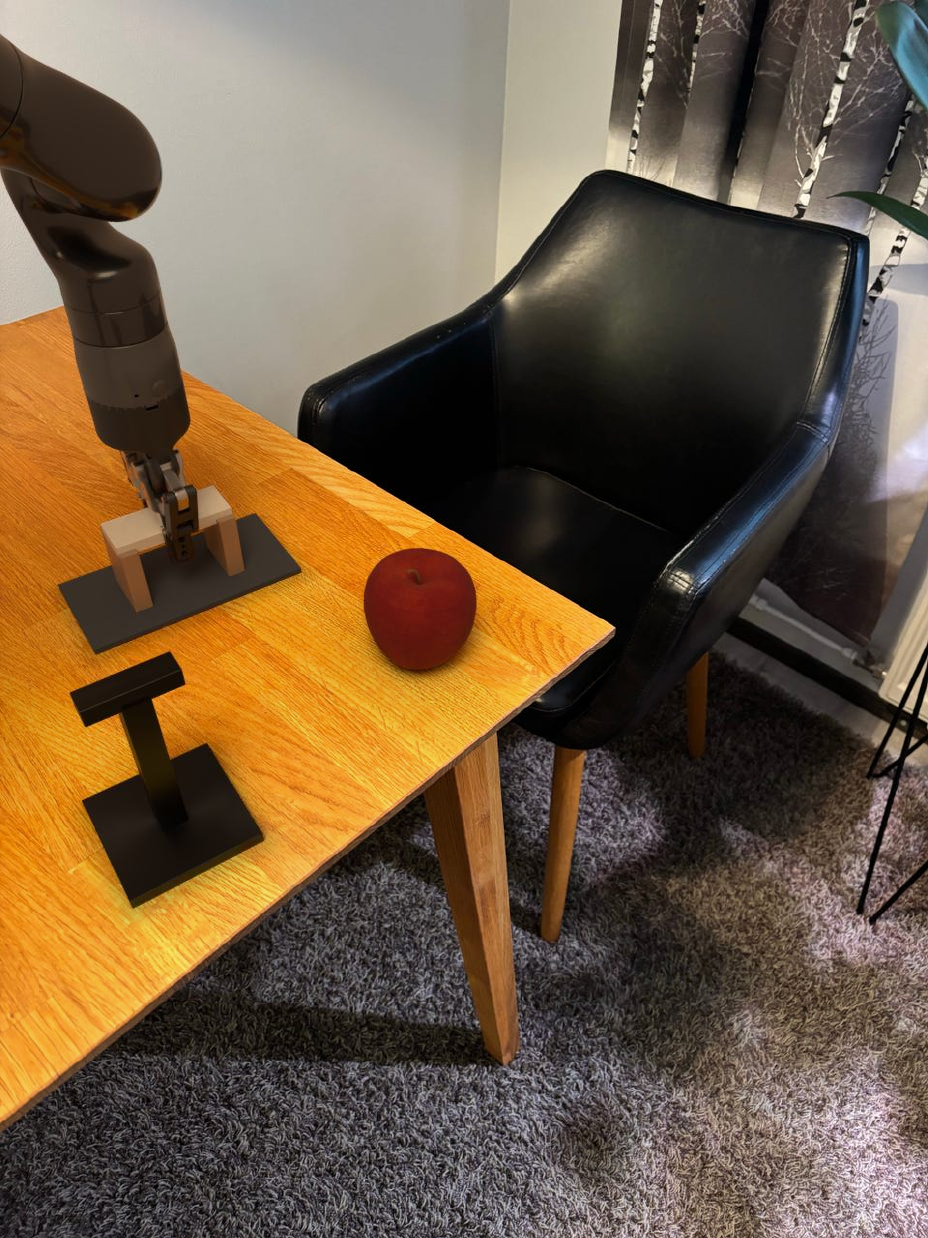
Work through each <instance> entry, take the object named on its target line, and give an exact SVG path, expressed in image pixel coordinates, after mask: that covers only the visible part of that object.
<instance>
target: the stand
mask: <svg viewBox="0 0 928 1238" xmlns="http://www.w3.org/2000/svg"><path fill="white" fill-rule="evenodd" d="M186 685H187V684H186V679H185V676H184V671H183V669H182V667H181V666H180V664H179V663H178V661H177V659H176V658H175V656H174V654H173V653H172V652H171V650H169V651H166V652H164V653H161V654H159V655H156V656H154V657H152V658H149V659H147V660H144V661H141V662H139V663H136V664H135V665H132V666H130V667H127V668H125V669H122V670H119V671H117V672H115V673H113V674H111V675H108V676H105V677H103V678H101V679H98V680H96V681H93V682H90V683H88V684H85V685H83V686H81V687H79V688H75V689H73V690H71V691H69V696H70V699H71V701H72V704H73V706H74V708H75V711H76V712H77V714H78V716H79V718H80V720H81V723H82V724H83V726H84V727H85V728H88V727H90V726H93V725H95V724H98V723H100V722H103V721H105V720H107V719H109V718H112V717H114V716H117V715H118V717H119V720H120V724H121V726H122V729H123V731H124V735H125V737H126V741H127V744H128V747H129V749H130V751H131V755H132V757H133V760H134V764H135V767H136V769H137V773H138V774H136V775H133V776H131V777H129V778H127V779H124V780H122V781H120V782H118V783H116V784H114V785H112V786H109V787H107V788H105V789H102V790H100V791H99V792H97V793H94V794H92V795H89V796H88V797H85V798H84V799H82V800H81V804H82V805H83V807H84V810H85V812H86V814H87V816H88V818H89V820H90V822H91V825H92V827H93V828H94V829H93V830H95V831H94V832H95V833H96V835H97V837H98V839H99V841H100V843H101V845H102V847H103V849H104V852H105V854H106V856H107V858H108V860H109V863H110V864H111V866H112V869H113V871H114V874H115V875H116V877H117V880H118V881H119V884H120V885H121V887H122V890H123V892H124V894H125V896H126V898H127V900H128V903H129V905H130V907H131V909H135V908H137V907H140V906H141V905H143V904H145V903H147V902H149V901H150V900H152V899H155V898H156V897H158V896H160V895H162V894H164V893H166V892H168V891H170V890H172V889H174V888H175V887H178V886H179V885H182V884H183V883H185V882H188V881H189V880H191V879H193V878H195V877H197V876H198V875H201V874H203V873H205V872H206V871H208V870H210V869H212V868H214V867H216V866H219V865H220V864H222V863H224V862H225V861H228V860H229V859H232V858H233V857H236V856H237V855H240V854H241V853H243V852H245V851H247V850H249V849H251V848H252V847H255V846H257V845H259V844H260V843H262V842H264V841H265V839H264V835H263V832H262V830H261V829H260V827H259V826H258V824H257V821H256V820H255V819H254V817H253V816H252V814H251V812H250V810H249V809H248V807H247V806H246V803H245V802H244V801H243V799H242V797H241V796H240V794H239V792H238V791H237V789H236V787H235V785H234V784H233V783H232V781H231V779H230V778H229V776H228V774H227V773H226V771H225V770H224V768H223V766H222V765H221V763H220V762H219V760H218V758H217V757H216V755H215V753H214V752H213V750H212V748H211V747H210V745H209V743H208V742H205V743H203V744H201V745H199V746H196V747H195V748H192V749H189V750H188V751H185V752H183V753H181V754H179V755H177V756H175V757H172V758H171V757H170V753H169V750H168V747H167V744H166V739H165V737H164V735H163V731H162V728H161V724H160V721H159V718H158V714H157V711H156V709H155V705H154V701H153V700H154V699H156V698H158V697H161V696H163V695H165V694H168V693H170V692H173V691H175V690H177V689H179V688H182V687H185V686H186Z"/></svg>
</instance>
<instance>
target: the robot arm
mask: <svg viewBox="0 0 928 1238" xmlns="http://www.w3.org/2000/svg"><path fill="white" fill-rule="evenodd" d="M163 175H164V173H163V162H162V158H161V154H160V151H159V148H158V146H157V143H156V142H155V139H154V137H153V136H152V134H151V133H150V131H149V129H148V127H146V125H145V124H144V123H143V122H142V121H141V119H140V118H139V117H137V116H136V114H135V113H133V111H131V110H130V109H128V108H127V106H124V105H123V104H121V103H120V102H119V101H117V100H116V99H113V98H112V97H110V96H108V95H107V94H105V93H103V92H101V91H99V90H98V89H96V88H94V87H92V86H90V85H88V84H86V83H85V82H82V81H80V80H79V79H76V78H75V77H72V76H71V75H68V74H67V73H65V72H62V71H60V70H58V69H56V68H53V67H51V66H50V65H48V64H45V63H43V62H41V61H39V60H37V59H35V58H34V57H32V56H30V55H29V54H27V53H25V52H24V51H22V50H21V49H20V48H19V47H18V46H16V45H15V44H14V43H13V42H12V41H10V40H9V39H8V38H6V37H5V36H4V35H3V34H2V33H0V177H1V180H2V183H3V186H4V187H5V190H6V193H7V195H8V196H9V198H10V200H11V202H12V205H13V207H14V208H15V211H16V212H17V214H18V216H19V217H20V219H21V221H22V223H23V225H24V226H25V229H26V230H27V232H28V234H29V235H30V237H31V239H32V241H33V243H34V244H35V246H36V248H37V250H38V251H39V254H40V256H41V257H42V258H43V260H44V261H45V263H46V265H47V267H48V268H49V269H50V271H51V273H52V274H53V276H54V277H55V279H56V283H57V284H58V289H59V293H60V296H61V299H62V303H63V307H64V310H65V314H66V318H67V322H68V324H69V328H70V332H71V336H72V342H73V351H74V358H75V362H76V367H77V369H78V374H79V377H80V380H81V384H82V387H83V392H84V394H85V399H86V402H87V405H88V408H89V409H88V410H89V412H90V415H91V419H92V423H93V427H94V430H95V433H96V436H97V438H98V439H99V441H100V442H102V443H103V444H104V445H105V446H107V447H109V448H111V449H112V450H116V451H119V455H120V457H121V461H122V464H123V466H124V469H125V471H126V474H127V481H128V482H129V483H130V485H131V486H132V487H134V488H135V491H136V493H135V495H136V498H137V499H139V501H140V502H141V503H142V507H143V509H145V508H148V507H149V508H150V509H151V510H152V511H153V512H155V513H156V514H157V517H158V520H159V523H160V529H161V531H162V532H163V536H164V540H165V543H164V544H165V545H166V549H167V553H168V557H169V559H170V560H171V562H172V563H173V564H179V563H182V562H185V561H187V560H190V559H192V558H193V557H194V556H195V551H194V546H193V542H192V537H191V536H192V534H195V533H199V532H200V530H199V516H198V497H197V488H196V487H195V486H194V484H192V483H190V484H187V481H186V478H185V474H184V469H185V464H184V461H183V458H182V455H181V452H180V450H179V449H178V448H174V447H175V446H176V444H177V443H178V442H179V441H180V440H181V439H182V438H183V437H184V436H185V435H186V433H187V432H188V430H189V429H190V426H191V421H192V420H191V414H190V407H189V403H188V398H187V393H186V388H185V383H184V378H183V374H182V369H181V368H182V367H181V363H180V357H179V353H178V349H177V344H176V341H175V339H174V336H173V333H172V330H171V328H170V324H169V320H168V316H167V311H166V307H165V306H166V305H165V301H164V296H163V291H162V287H161V286H162V285H161V282H160V277H159V273H158V268H157V265H156V262H155V259H154V257H153V255H152V254H151V252H150V251H149V250H148V249H147V248H146V247H145V246H144V245H143V244H141V243H140V242H138V241H136V240H135V239H133V238H131V237H129V236H127V235H125V234H124V233H123V232H121V231H119V230H118V229H116V228H115V227H114V226H113V225H112V224H111V223H124V222H130V221H133V220H136V219H138V218H140V217H141V216H143V215H144V214H145V213H147V212H148V211H149V210H150V209H151V208H152V207H153V206H154V204H155V203H156V201H157V199H158V198H159V194H160V192H161V188H162V185H163ZM165 545H164V546H165Z"/></svg>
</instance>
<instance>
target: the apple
mask: <svg viewBox="0 0 928 1238" xmlns="http://www.w3.org/2000/svg"><path fill="white" fill-rule="evenodd" d="M477 599H478V598H477V591H476V587H475V585H474V581H473V578H472V575H471V574H470V573H469V571H468V569H467V568H466V567H465V566H464V565H463V564H462V563H461V562H460V561H459V560H458V559H457V558H455V557H453V556H452V555H450V554H448V553H446V552H443V551H441V550H436V549H432V548H427V547H426V548H424V547H410V548H405V549H401V550H398V551H395V552H392V553H390V554H387V555H385V556H384V557H383V558H381V559H380V560H379V561H378V562H377V563H376V565H375V566H374V567H373V569H372V571H370V573H369V575H368V577H367V579H366V583H365V586H364V591H363V612H364V617H365V621H366V625H367V628H368V631H369V633H370V635H371V637H372V639H373V640H374V643H375V644H376V646H377V647H378V649H379V650H380V652H381V653H382V654H383V655H384V656H385V657H386V658H387V659H388V660H390V662H392V663H393V664H395V665H397V666H398V667H400V668H403V669H408V670H414V671H417V670H419V671H420V670H421V671H422V670H427V669H431V668H435V667H437V666H440V665H442V664H444V663H447V662H448V660H450V659H451V658H452V657H454V656H455V655H457V653H459V651H460V650H461V649H462V648H463V646H464V645H465V644H466V642H467V640H468V638H469V636H470V634H471V632H472V629H473V627H474V623H475V620H476V614H477V607H478V605H477Z"/></svg>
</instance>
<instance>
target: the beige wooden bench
mask: <svg viewBox="0 0 928 1238" xmlns="http://www.w3.org/2000/svg"><path fill="white" fill-rule="evenodd" d="M196 490H197V489H196ZM197 497H198V516H199V531H200V530H203V532H204V535H205V539H206V544H207V548H208V549H209V550H210V552H211V553H212V554H213V556H214V557H215V558H216V560H217V561H218V562H219V564H220V565H221V566H222V568H223V569H224V570H225V572H226V573H227V574H228V576H229V577H231V576H233V575H236V574H239V573H241V572H244V571H245V569H244V563H243V558H242V552H241V547H240V541H239V536H238V530H237V524H236V520H237V519H236V516H235V515H234V513H233V508H232V506H231V505H230V504H229V503H228V502H227V500H226V499H225V497H223V495H222V494H221V493H220V492H219V491H218V489H217V487H216V486H215V485H214V484H211V485H209V486H206V487H203V488H201V489H198V490H197ZM99 524H100V526H99V529H100V532H101V535H102V538H103V542H104V545H105V548H106V551H107V554H108V558H109V562H110V565H112V568H113V571H114V574H115V578H116V581H117V582H118V584H119V586H120V587H121V589H122V590H123V592H124V594H125V595H126V597H127V598H128V600H129V602H130V603H131V605H132V607H133V608H134V610H135V611H136V613H138V612H140V611H143V610H146V609H148V608H151V607H153V603H152V600H151V596H150V592H149V589H148V585H147V582H146V578H145V574H144V571H143V567H142V564H141V560H140V556H139V555H140V553H139V552H142V551H145V550H148V549H151V548H154V547H157V546H159V545H162V544H165V540H164V536H163V532H162V531H161V529H160V523H159V520H158V517H157V514H156V513H155V512H153V511H152V510H151V509H150V508H149V507H148V508H145V509H144V508H143V509H139V510H136V511H133V512H130V513H127V514H125V515H122V516H119V517H115V518H113V519H110V520H107V521H104V522H101V523H99Z"/></svg>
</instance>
